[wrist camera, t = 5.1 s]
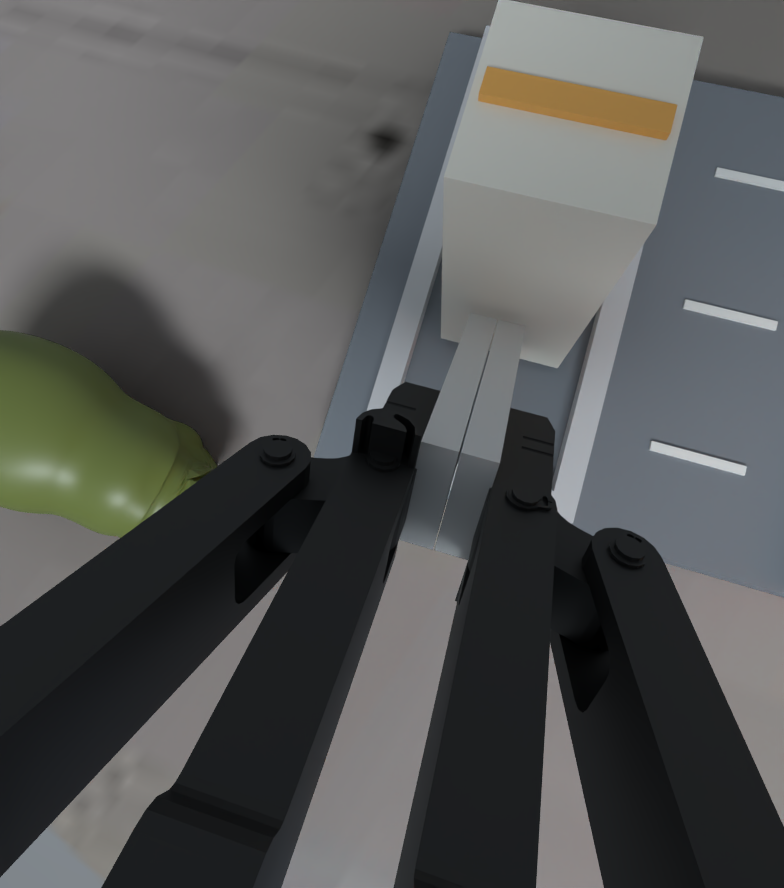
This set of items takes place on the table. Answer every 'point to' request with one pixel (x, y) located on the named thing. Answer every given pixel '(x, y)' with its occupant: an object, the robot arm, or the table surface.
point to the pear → (85, 441)
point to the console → (626, 341)
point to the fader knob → (558, 169)
